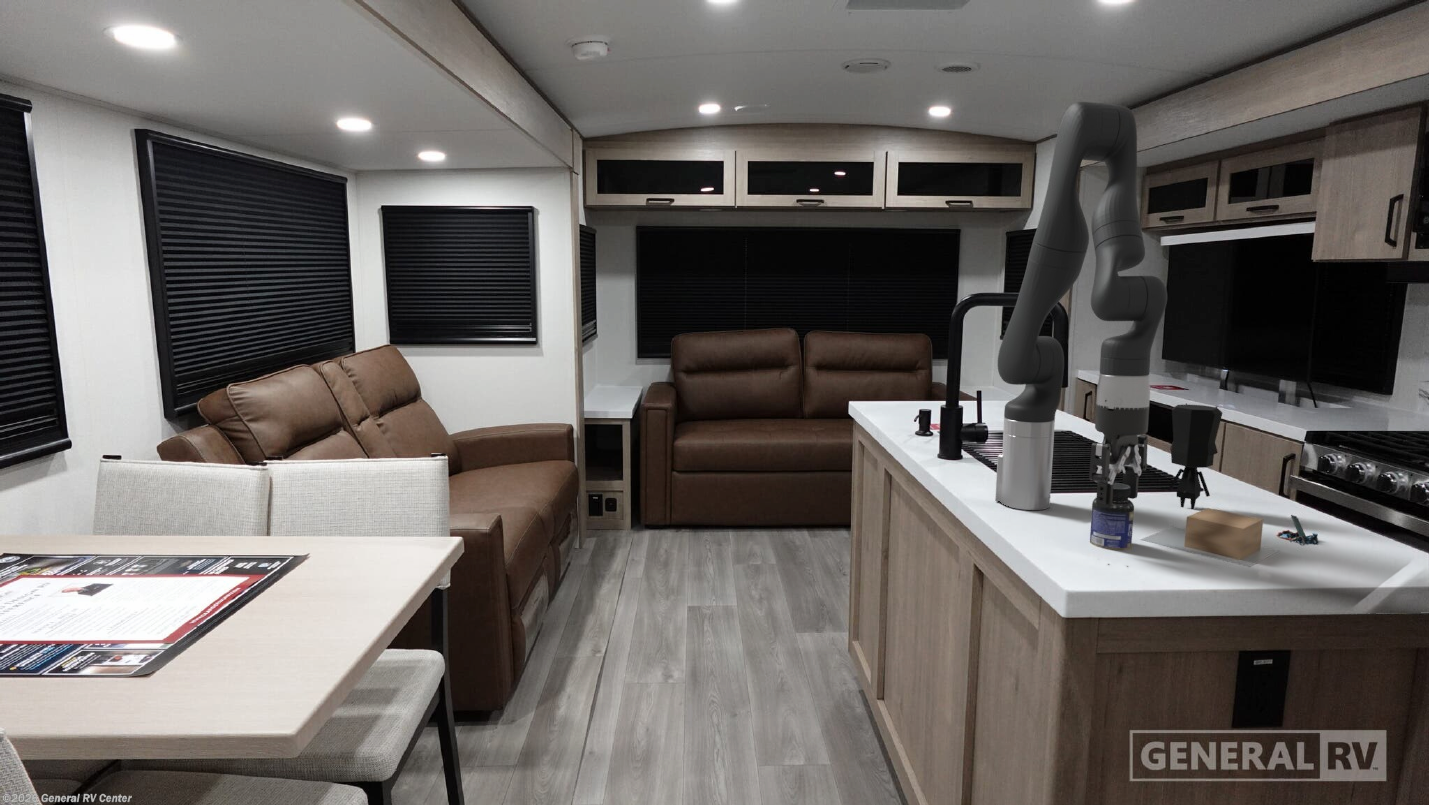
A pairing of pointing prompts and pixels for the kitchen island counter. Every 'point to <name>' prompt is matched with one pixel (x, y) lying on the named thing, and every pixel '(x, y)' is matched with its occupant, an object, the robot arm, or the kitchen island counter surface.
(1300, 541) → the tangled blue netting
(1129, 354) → the robot arm
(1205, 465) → the toy
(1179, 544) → the build plate
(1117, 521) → the pill bottle
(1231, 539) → the wooden block
